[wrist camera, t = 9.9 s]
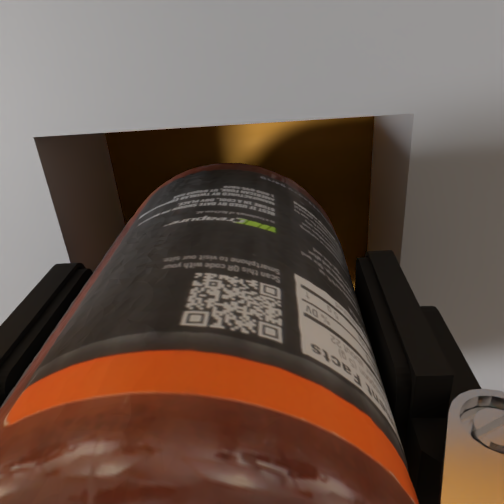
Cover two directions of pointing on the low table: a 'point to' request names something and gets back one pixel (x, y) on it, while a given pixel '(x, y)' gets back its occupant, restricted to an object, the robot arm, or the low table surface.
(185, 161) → the low table surface
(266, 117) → the socket block
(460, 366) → the robot arm
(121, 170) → the low table surface
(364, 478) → the supplement bottle
